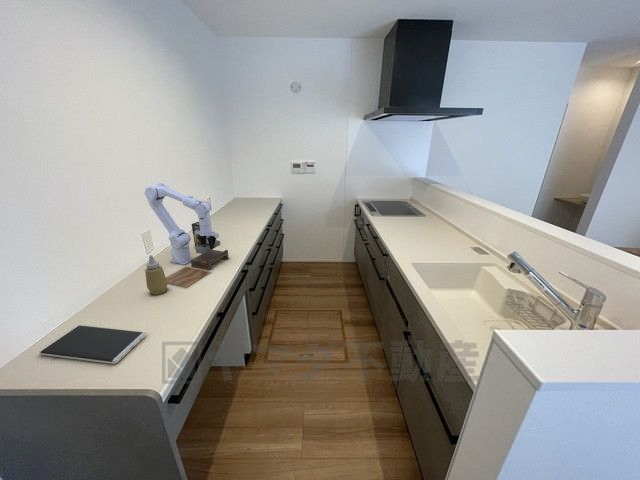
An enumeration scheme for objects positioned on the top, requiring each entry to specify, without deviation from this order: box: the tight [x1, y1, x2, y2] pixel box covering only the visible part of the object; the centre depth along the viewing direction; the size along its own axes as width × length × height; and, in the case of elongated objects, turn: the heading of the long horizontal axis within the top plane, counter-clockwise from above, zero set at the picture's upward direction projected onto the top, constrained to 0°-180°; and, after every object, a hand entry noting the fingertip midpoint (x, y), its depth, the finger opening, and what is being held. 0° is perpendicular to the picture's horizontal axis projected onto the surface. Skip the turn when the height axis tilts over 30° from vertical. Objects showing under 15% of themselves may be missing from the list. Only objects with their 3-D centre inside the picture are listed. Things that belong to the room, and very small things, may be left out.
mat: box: [165, 266, 211, 289], centre depth 133 cm, size 16×16×1 cm
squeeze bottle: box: [144, 254, 168, 296], centre depth 117 cm, size 8×8×18 cm
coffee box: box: [190, 221, 210, 249], centre depth 166 cm, size 9×6×16 cm
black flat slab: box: [39, 324, 146, 365], centre depth 88 cm, size 13×27×2 cm, turn 83°
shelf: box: [190, 249, 230, 271], centre depth 148 cm, size 12×16×6 cm
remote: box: [195, 239, 221, 255], centre depth 145 cm, size 14×4×3 cm, turn 161°
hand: (208, 248), depth 145 cm, fingers closed on remote, 4 cm apart
